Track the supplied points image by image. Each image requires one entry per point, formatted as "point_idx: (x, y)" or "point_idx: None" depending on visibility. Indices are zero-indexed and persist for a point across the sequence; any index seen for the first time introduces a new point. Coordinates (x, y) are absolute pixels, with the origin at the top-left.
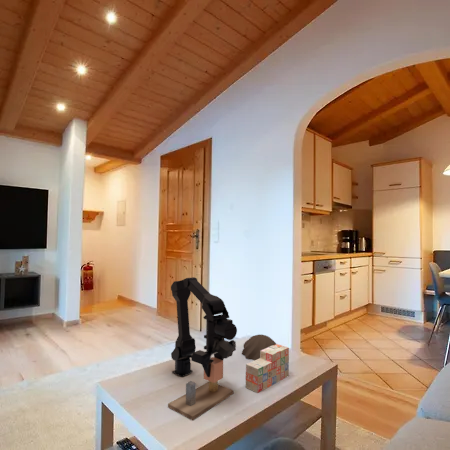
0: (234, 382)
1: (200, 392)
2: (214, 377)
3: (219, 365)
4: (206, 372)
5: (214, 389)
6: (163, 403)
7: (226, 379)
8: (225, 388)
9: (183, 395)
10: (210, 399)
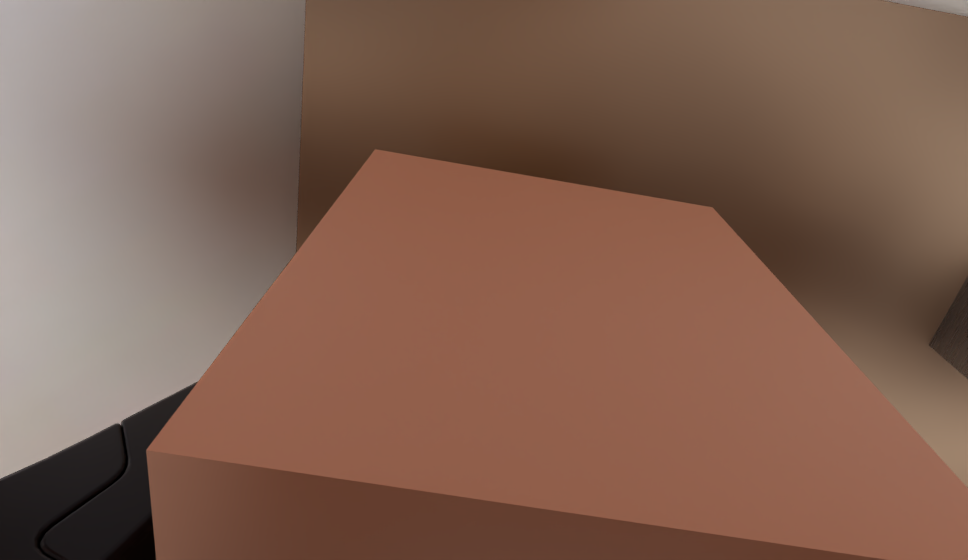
0: (5, 92)
1: None
2: (747, 255)
3: (541, 381)
4: None
5: None
6: None
7: (33, 250)
8: (342, 82)
9: None
10: (798, 121)
